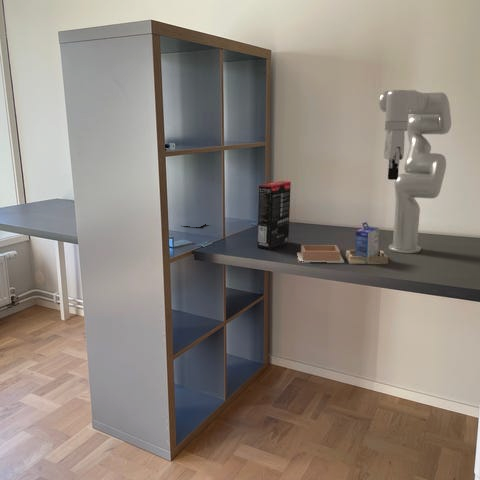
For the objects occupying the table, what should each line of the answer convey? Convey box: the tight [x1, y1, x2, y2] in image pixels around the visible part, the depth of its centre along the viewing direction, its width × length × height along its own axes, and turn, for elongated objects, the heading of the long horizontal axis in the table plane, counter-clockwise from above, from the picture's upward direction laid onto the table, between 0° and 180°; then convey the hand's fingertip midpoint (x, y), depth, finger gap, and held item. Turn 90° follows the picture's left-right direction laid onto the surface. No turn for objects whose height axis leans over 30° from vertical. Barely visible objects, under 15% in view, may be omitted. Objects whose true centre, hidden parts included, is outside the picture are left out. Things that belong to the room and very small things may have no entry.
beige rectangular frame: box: [345, 249, 389, 265], centre depth 190 cm, size 10×14×3 cm
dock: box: [296, 244, 345, 264], centre depth 192 cm, size 12×17×4 cm
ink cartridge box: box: [355, 221, 380, 265], centre depth 188 cm, size 10×6×14 cm, turn 142°
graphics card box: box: [256, 180, 292, 250], centre depth 211 cm, size 17×7×27 cm, turn 147°
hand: (392, 179), depth 177 cm, fingers closed
